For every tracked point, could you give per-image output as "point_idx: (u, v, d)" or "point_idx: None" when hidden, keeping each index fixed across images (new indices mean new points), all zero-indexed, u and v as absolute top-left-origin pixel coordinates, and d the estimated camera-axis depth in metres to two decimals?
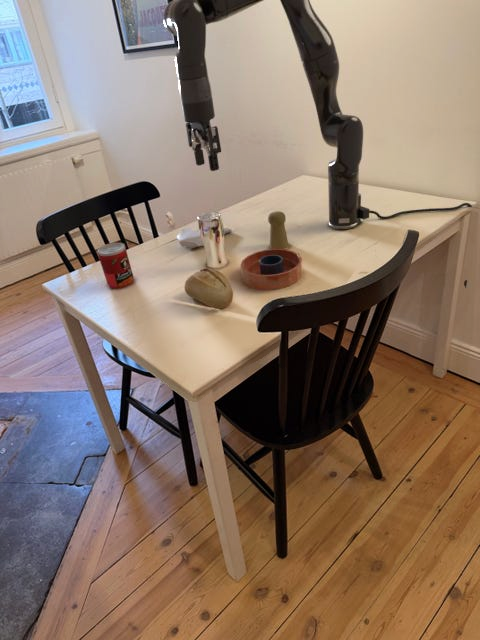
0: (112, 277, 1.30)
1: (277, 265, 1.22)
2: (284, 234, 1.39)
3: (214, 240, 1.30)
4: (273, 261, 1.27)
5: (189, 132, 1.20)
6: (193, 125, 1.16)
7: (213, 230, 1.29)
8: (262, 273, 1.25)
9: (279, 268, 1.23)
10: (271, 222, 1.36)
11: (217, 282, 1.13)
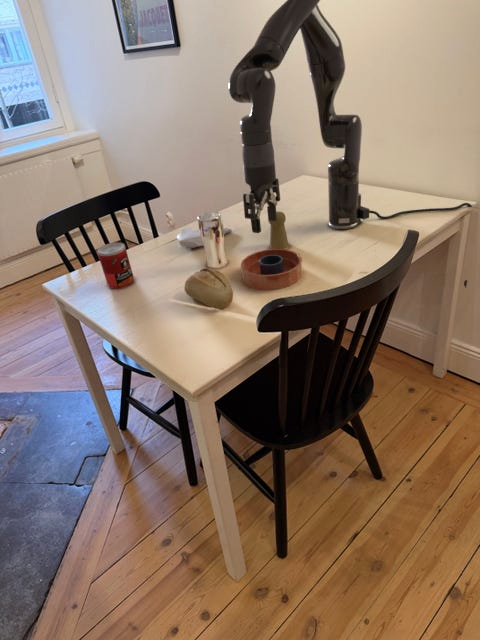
0: (112, 277, 1.30)
1: (277, 265, 1.22)
2: (284, 234, 1.39)
3: (214, 240, 1.30)
4: (273, 261, 1.27)
5: None
6: None
7: (213, 230, 1.29)
8: (262, 273, 1.25)
9: (279, 268, 1.23)
10: (271, 222, 1.36)
11: (217, 282, 1.13)
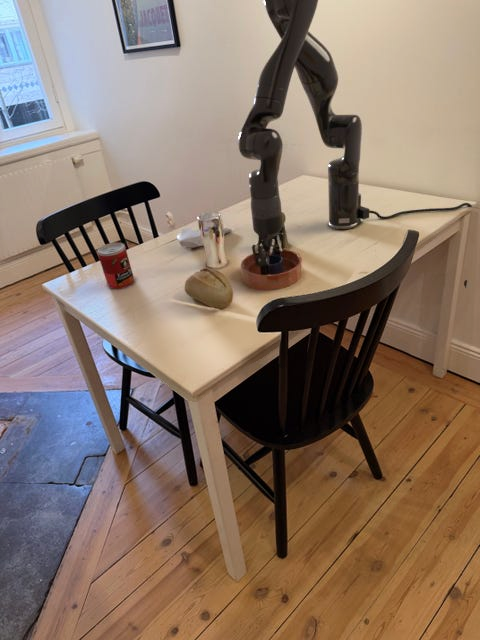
0: (112, 277, 1.30)
1: (277, 265, 1.22)
2: None
3: (214, 240, 1.30)
4: (273, 261, 1.27)
5: None
6: None
7: (213, 230, 1.29)
8: None
9: (279, 268, 1.23)
10: None
11: (217, 282, 1.13)
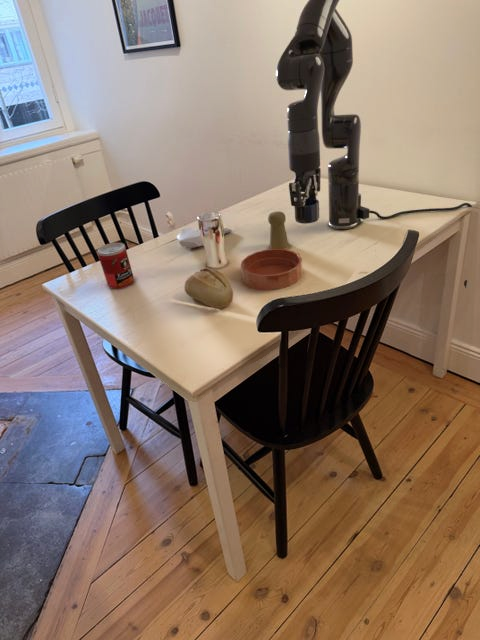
0: (112, 277, 1.30)
1: (313, 207, 1.17)
2: (284, 234, 1.39)
3: (214, 240, 1.30)
4: (308, 204, 1.22)
5: None
6: None
7: (213, 230, 1.29)
8: None
9: (316, 210, 1.18)
10: (271, 222, 1.36)
11: (217, 282, 1.13)
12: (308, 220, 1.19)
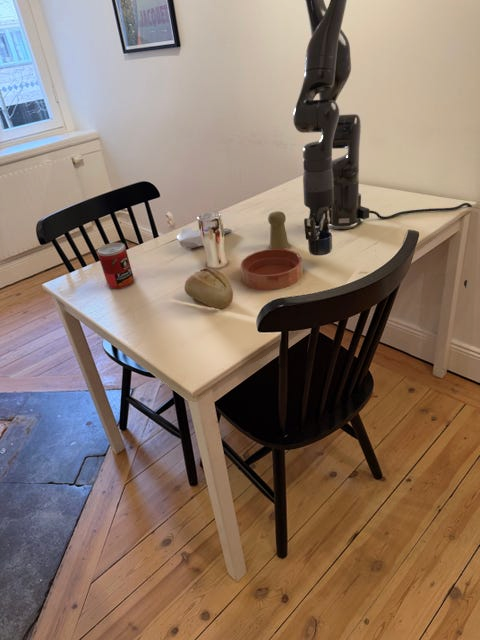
0: (112, 277, 1.30)
1: (327, 240, 1.23)
2: (284, 234, 1.39)
3: (214, 240, 1.30)
4: (320, 237, 1.28)
5: None
6: None
7: (213, 230, 1.29)
8: None
9: (329, 243, 1.23)
10: (271, 222, 1.36)
11: (217, 282, 1.13)
12: (321, 252, 1.24)
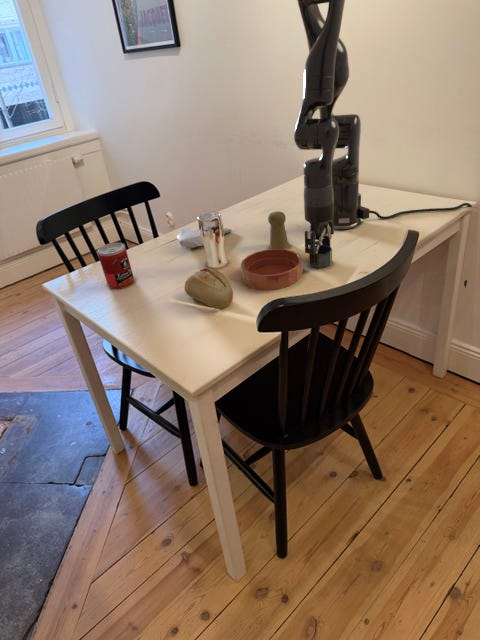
0: (112, 277, 1.30)
1: (327, 254, 1.25)
2: (284, 234, 1.39)
3: (214, 240, 1.30)
4: (321, 251, 1.30)
5: None
6: None
7: (213, 230, 1.29)
8: None
9: (329, 258, 1.26)
10: (271, 222, 1.36)
11: (217, 282, 1.13)
12: (322, 267, 1.26)
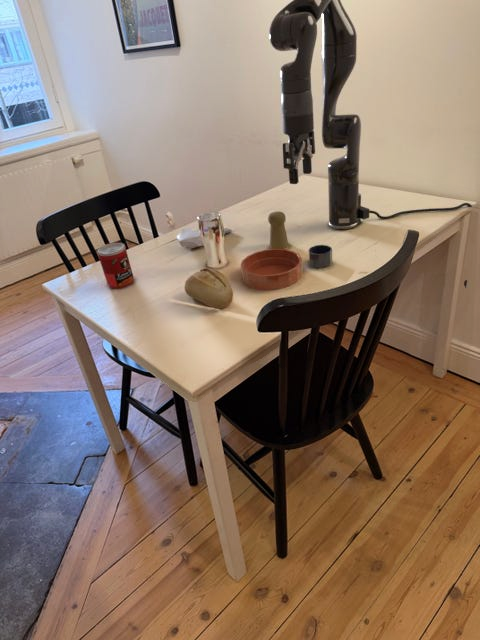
0: (112, 277, 1.30)
1: (327, 254, 1.25)
2: (284, 234, 1.39)
3: (214, 240, 1.30)
4: (321, 251, 1.30)
5: None
6: None
7: (213, 230, 1.29)
8: (311, 262, 1.27)
9: (329, 258, 1.26)
10: (271, 222, 1.36)
11: (217, 282, 1.13)
12: (322, 267, 1.26)
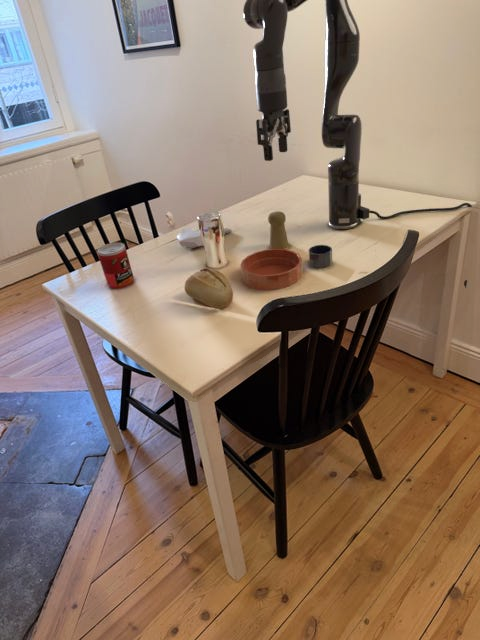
0: (112, 277, 1.30)
1: (327, 254, 1.25)
2: (284, 234, 1.39)
3: (214, 240, 1.30)
4: (321, 251, 1.30)
5: None
6: None
7: (213, 230, 1.29)
8: (311, 262, 1.27)
9: (329, 258, 1.26)
10: (271, 222, 1.36)
11: (217, 282, 1.13)
12: (322, 267, 1.26)
